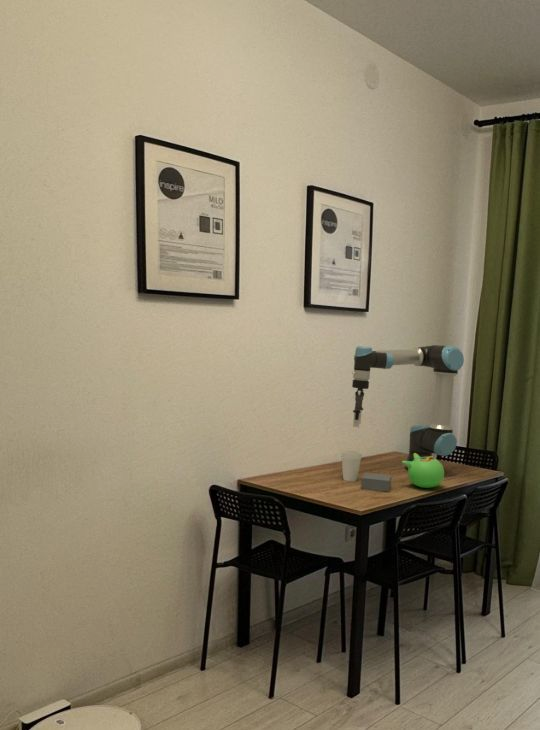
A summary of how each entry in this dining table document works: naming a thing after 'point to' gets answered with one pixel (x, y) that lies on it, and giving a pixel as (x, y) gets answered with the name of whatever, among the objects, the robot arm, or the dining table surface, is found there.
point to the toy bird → (425, 471)
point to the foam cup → (350, 464)
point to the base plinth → (376, 482)
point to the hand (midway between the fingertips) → (356, 425)
